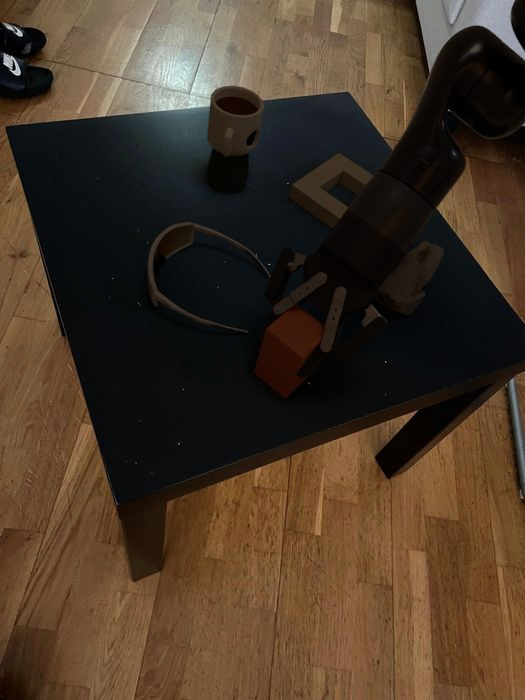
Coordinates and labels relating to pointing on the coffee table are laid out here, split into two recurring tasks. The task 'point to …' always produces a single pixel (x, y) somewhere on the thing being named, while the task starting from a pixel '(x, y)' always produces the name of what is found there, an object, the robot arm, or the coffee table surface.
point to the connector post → (288, 349)
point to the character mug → (232, 135)
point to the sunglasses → (174, 242)
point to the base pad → (328, 188)
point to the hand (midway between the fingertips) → (281, 359)
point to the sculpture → (410, 279)
